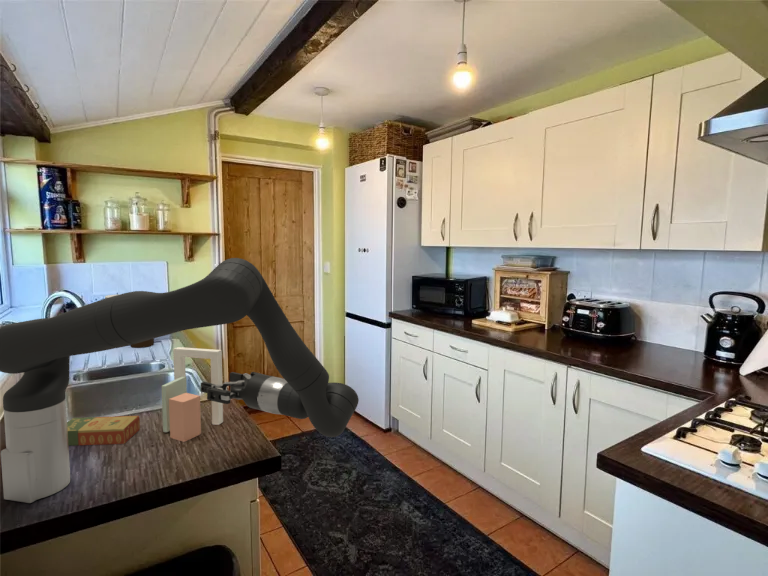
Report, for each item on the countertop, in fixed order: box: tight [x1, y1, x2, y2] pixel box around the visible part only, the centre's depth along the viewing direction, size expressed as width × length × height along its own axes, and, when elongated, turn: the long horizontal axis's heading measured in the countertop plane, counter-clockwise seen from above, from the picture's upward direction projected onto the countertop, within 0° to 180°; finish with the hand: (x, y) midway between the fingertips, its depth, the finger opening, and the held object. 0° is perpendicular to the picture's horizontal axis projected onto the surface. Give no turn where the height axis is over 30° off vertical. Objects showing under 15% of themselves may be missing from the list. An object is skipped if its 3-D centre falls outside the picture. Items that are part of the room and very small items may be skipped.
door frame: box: [172, 346, 224, 426], centre depth 114 cm, size 2×13×20 cm, turn 79°
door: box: [161, 376, 188, 433], centre depth 110 cm, size 1×8×12 cm, turn 169°
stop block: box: [169, 392, 202, 443], centre depth 106 cm, size 5×5×10 cm
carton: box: [67, 415, 141, 447], centre depth 104 cm, size 8×16×4 cm, turn 96°
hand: (216, 381), depth 98 cm, fingers open, 8 cm apart
